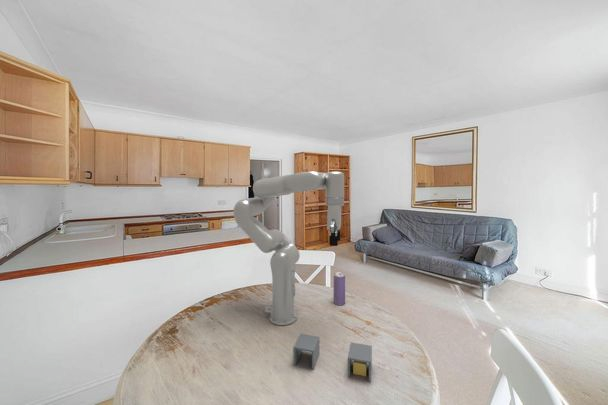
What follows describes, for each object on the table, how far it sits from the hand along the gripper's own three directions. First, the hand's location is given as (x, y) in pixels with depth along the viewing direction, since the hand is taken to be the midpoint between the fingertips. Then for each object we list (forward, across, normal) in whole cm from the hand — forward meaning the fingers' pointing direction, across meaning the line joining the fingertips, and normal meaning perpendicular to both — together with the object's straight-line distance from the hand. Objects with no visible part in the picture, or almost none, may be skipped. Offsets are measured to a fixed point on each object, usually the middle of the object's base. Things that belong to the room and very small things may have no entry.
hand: (335, 242), depth 103 cm
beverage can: (+36, -23, -1) cm, 43 cm away
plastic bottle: (+36, -26, -28) cm, 53 cm away
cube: (+36, +23, +11) cm, 44 cm away
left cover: (+36, +22, -7) cm, 43 cm away
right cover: (+36, +23, +11) cm, 44 cm away
